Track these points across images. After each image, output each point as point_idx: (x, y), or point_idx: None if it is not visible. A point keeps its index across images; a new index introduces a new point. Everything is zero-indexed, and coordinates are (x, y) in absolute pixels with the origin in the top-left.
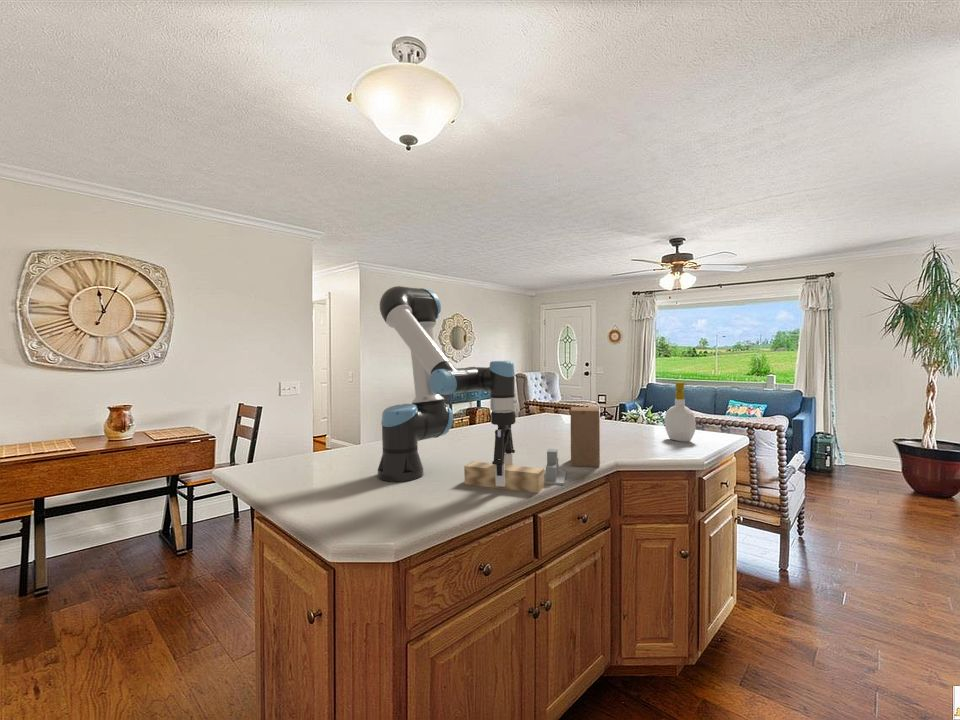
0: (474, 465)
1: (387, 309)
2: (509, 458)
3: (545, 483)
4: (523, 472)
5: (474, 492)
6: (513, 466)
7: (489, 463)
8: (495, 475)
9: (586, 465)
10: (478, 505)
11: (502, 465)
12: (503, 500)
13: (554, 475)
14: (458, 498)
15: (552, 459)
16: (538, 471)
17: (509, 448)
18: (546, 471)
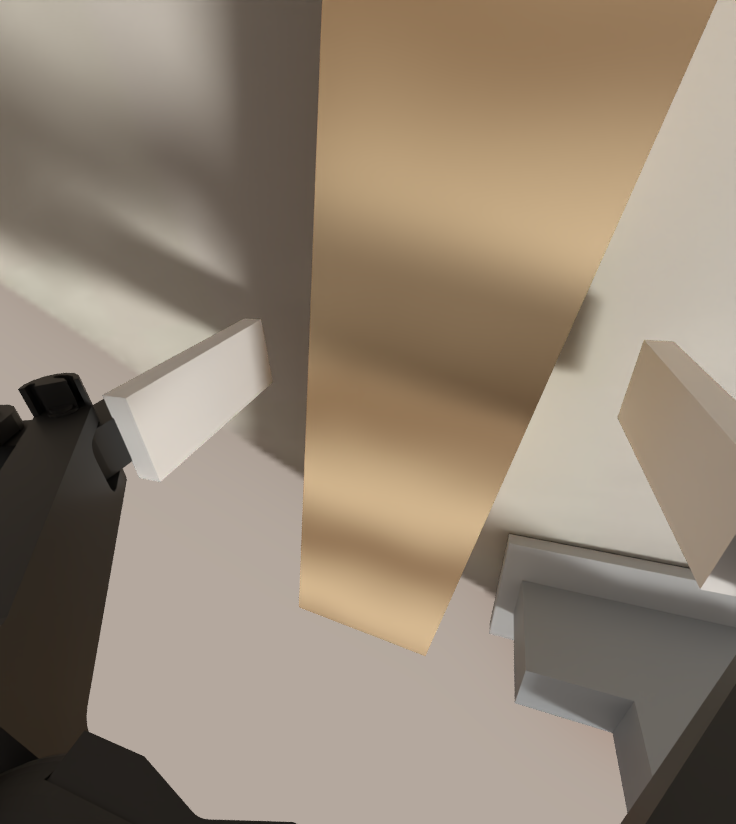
0: None
1: None
2: (687, 504)
3: (502, 567)
4: (303, 542)
5: (211, 129)
6: (450, 497)
7: (603, 182)
8: (192, 347)
9: None
10: (48, 246)
11: (142, 456)
12: None
13: (515, 644)
14: (44, 36)
15: (632, 765)
16: (342, 616)
17: (730, 665)
18: (523, 640)
